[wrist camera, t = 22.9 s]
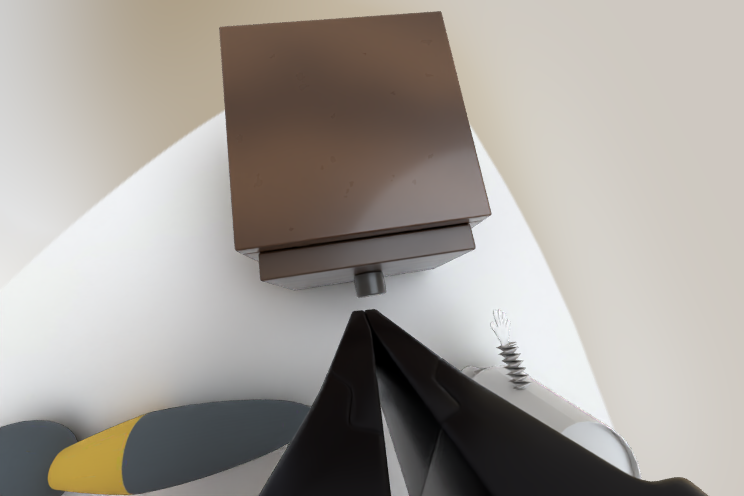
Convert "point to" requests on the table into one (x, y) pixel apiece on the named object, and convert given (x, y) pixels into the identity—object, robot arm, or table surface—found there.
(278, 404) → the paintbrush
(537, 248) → the table surface
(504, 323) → the toy figure
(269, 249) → the cabinet
